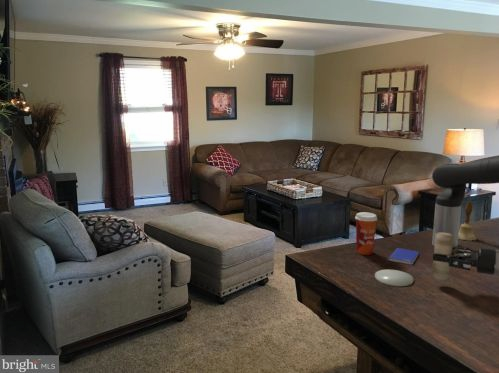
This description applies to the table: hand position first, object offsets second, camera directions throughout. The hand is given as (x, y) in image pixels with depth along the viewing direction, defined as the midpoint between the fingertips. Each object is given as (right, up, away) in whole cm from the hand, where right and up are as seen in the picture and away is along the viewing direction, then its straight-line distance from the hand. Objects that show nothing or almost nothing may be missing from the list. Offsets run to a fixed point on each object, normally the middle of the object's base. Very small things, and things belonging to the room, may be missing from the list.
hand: (433, 253), depth 131 cm
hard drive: (0, -6, +25) cm, 26 cm away
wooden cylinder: (+2, -8, +1) cm, 8 cm away
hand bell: (+34, -1, +47) cm, 58 cm away
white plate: (-10, -9, +7) cm, 15 cm away
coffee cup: (-13, -5, +31) cm, 34 cm away
